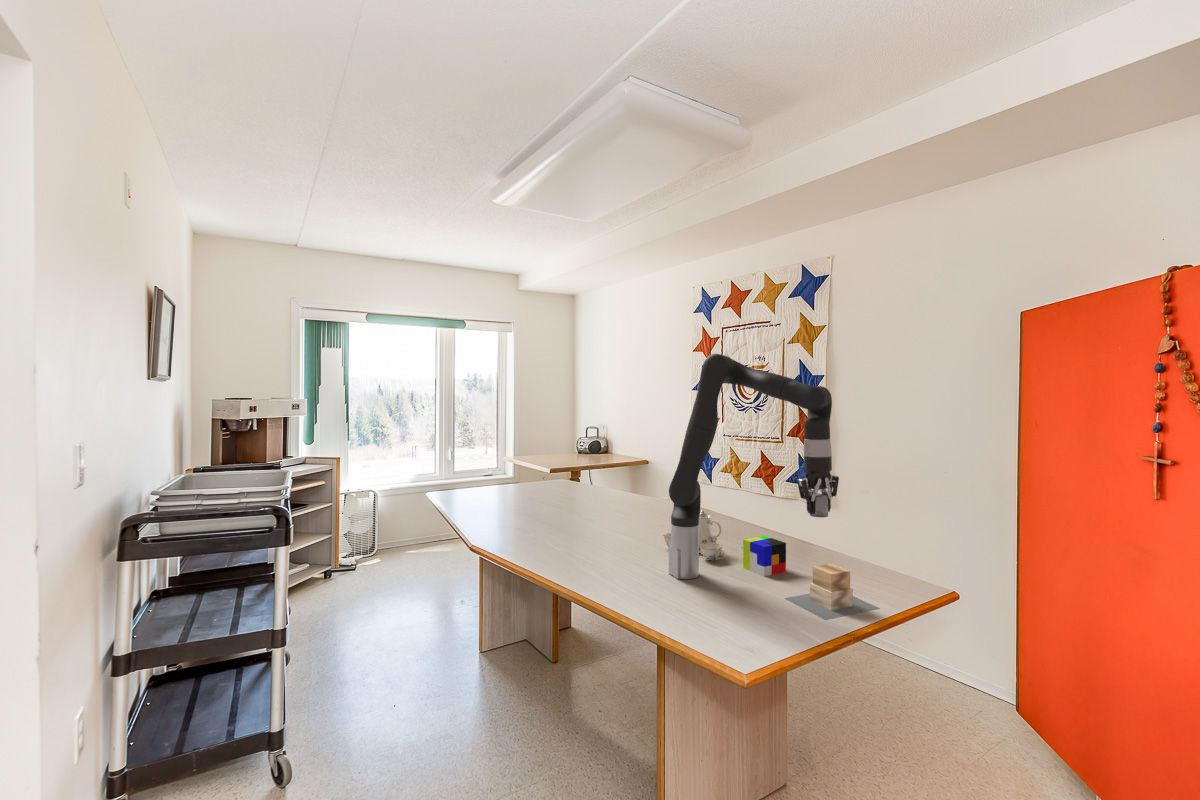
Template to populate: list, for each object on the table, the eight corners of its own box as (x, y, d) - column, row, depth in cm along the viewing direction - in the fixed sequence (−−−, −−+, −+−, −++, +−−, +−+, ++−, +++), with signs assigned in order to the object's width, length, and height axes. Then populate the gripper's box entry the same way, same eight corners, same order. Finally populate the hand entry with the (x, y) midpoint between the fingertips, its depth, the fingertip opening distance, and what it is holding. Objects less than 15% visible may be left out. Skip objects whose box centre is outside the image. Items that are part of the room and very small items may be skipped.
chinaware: (655, 553, 209) (653, 512, 207) (680, 540, 221) (677, 501, 219) (719, 570, 190) (716, 524, 188) (741, 554, 202) (739, 511, 200)
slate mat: (825, 622, 144) (825, 619, 144) (784, 600, 158) (784, 598, 158) (880, 610, 151) (880, 608, 151) (836, 590, 166) (836, 588, 166)
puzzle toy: (764, 576, 178) (764, 547, 178) (743, 567, 187) (743, 539, 187) (785, 571, 183) (786, 542, 183) (764, 563, 192) (764, 535, 192)
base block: (831, 610, 150) (831, 592, 149) (810, 600, 157) (810, 583, 157) (852, 606, 152) (852, 588, 152) (831, 596, 160) (831, 579, 160)
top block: (831, 592, 150) (831, 574, 150) (812, 583, 157) (812, 566, 156) (850, 588, 153) (850, 571, 152) (831, 580, 159) (831, 563, 159)
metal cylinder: (818, 518, 153) (818, 497, 153) (805, 514, 158) (805, 494, 158) (832, 516, 155) (831, 495, 155) (819, 512, 160) (818, 492, 159)
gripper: (807, 457, 150) (809, 518, 150) (846, 453, 155) (847, 512, 155) (788, 454, 157) (790, 512, 157) (826, 451, 162) (827, 507, 162)
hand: (819, 512), depth 156 cm, fingers closed on metal cylinder, 5 cm apart
